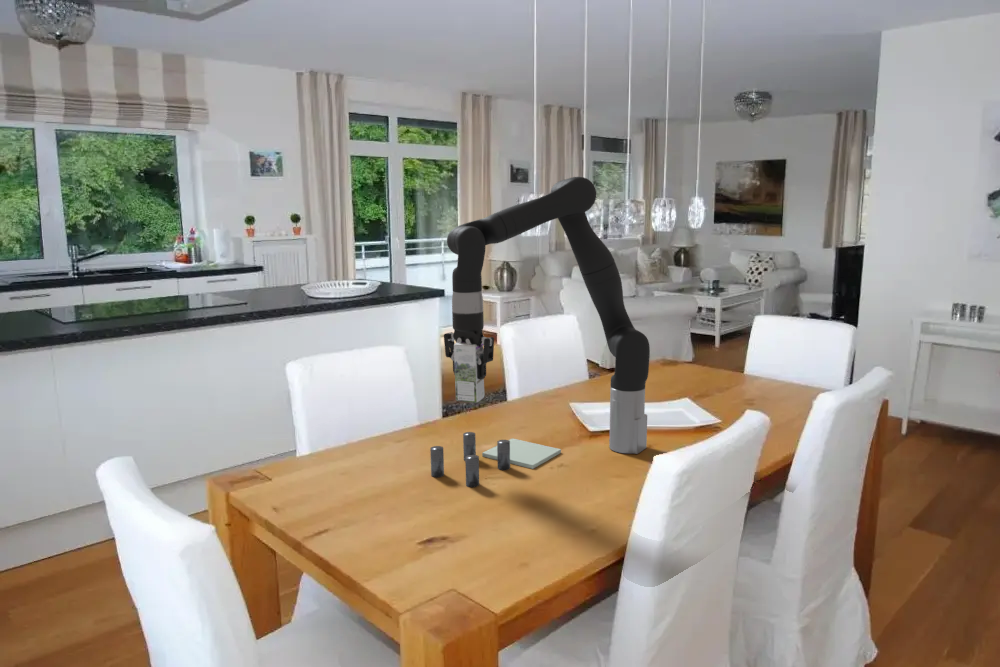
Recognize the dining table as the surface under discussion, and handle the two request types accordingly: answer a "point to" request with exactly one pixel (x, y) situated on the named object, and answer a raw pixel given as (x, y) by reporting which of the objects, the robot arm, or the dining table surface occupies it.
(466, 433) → the cylinder
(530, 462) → the sage board
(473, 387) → the syrup box
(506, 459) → the cylinder
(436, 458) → the cylinder
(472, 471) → the cylinder
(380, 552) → the dining table surface
